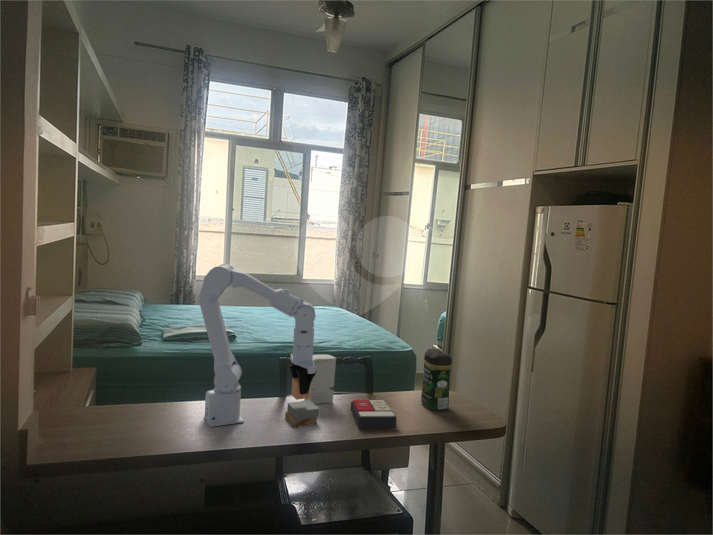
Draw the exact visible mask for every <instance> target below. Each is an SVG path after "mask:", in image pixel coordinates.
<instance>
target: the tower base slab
mask: <svg viewBox="0 0 713 535" xmlns="http://www.w3.org/2000/svg"><path fill="white" fill-rule="evenodd" d="M284 414H285V415H284V416H285V417H284V418H285V420H287V422H288V423H289V424H290V425H291V426H292V427H293V428H299V426H300V427H305V426H311V425H317V424H318V417H315V418H309V419H302V420H295V419H294V418H293V417H292V416H291V415H290V414H289V412H288V411H285V413H284Z"/></svg>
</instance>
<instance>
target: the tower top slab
mask: <svg viewBox="0 0 713 535" xmlns="http://www.w3.org/2000/svg"><path fill="white" fill-rule="evenodd" d="M320 410H321V409H320V407H319V406H317V404H314V403H313V402H311V401H310V400H300V401H299V400H298V401H291V402H287V411H288V412H289V414H290V415H291V416H292V417H293V418H294V419H295V420H302V419H309V418H315V417H317V418H320Z"/></svg>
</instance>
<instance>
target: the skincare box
mask: <svg viewBox="0 0 713 535" xmlns="http://www.w3.org/2000/svg"><path fill="white" fill-rule="evenodd" d="M313 358H315V359H316V362H314V365H315V366H316V374H315V376H314V377H313V379H312V382H311V384H310V398H306V399H304V401H306V400H310V401H311V402H313V403H314V404H315V405H320V404H321V405H322V404H329V403H333V402H334V391H335V390H334V389H335V376H336V367H337V366H336V364H337V357H335V356H333V355H331V354H313Z"/></svg>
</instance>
